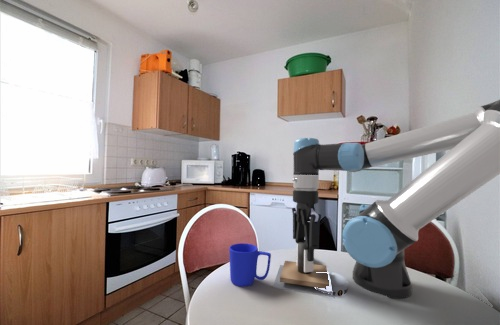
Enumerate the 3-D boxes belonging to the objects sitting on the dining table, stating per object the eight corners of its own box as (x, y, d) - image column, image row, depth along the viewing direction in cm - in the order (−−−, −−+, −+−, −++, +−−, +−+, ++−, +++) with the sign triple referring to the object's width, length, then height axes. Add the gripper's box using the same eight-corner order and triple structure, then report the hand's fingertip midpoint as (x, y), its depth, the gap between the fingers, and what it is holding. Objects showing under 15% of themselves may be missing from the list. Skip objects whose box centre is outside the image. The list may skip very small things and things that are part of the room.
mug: (268, 293, 60) (269, 255, 61) (224, 287, 63) (225, 250, 63) (271, 279, 68) (272, 245, 69) (232, 274, 71) (233, 242, 71)
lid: (326, 269, 73) (326, 240, 73) (329, 289, 60) (329, 253, 61) (285, 264, 76) (285, 236, 77) (279, 281, 64) (280, 248, 64)
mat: (329, 273, 74) (329, 271, 74) (334, 299, 58) (334, 297, 59) (280, 266, 78) (280, 265, 78) (272, 289, 63) (272, 287, 63)
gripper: (282, 187, 77) (281, 258, 76) (308, 191, 60) (307, 282, 59) (303, 187, 79) (302, 257, 77) (333, 191, 62) (332, 279, 61)
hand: (304, 268), depth 68 cm, fingers closed on lid, 4 cm apart
